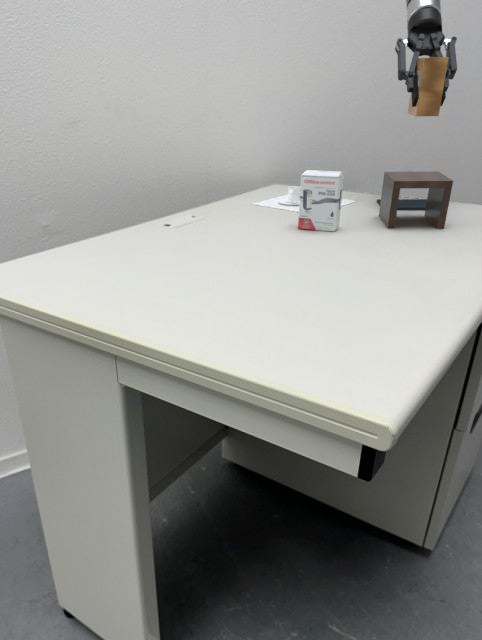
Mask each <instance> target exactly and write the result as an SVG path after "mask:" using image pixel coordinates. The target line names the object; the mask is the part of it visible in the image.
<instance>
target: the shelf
mask: <svg viewBox="0 0 482 640" xmlns="http://www.w3.org/2000/svg"><path fill="white" fill-rule="evenodd" d="M453 185H454V180H453V179H451V178H449V177H448V176H447V175H445V174H443V173H442V172H440V171H384V173H383V181H382V187H381V194H380V195H381V196H380V199H381V202H380V205H379V211H378V217H379V218H380V220H381V221H382V222H383V224H384V226H385V227H386V229H395V227H396V220H397V214H398V210H397V208H398V201H399V199H400V194H401V189H428V192H427V198H426V199H427V203H426V209H425V210H424V217H425V218H426V219H427V220H428V221H429V222H430V224H432V225H433V226H434V227H435V228H436V229H438V230H441V229H445V226H446V221H447V215H448V210H449V205H450V202H451V201H450V200H451V195H452V190H453Z"/></svg>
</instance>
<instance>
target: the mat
mask: <svg viewBox="0 0 482 640" xmlns="http://www.w3.org/2000/svg"><path fill="white" fill-rule="evenodd" d="M380 202H381V198H379V199H376V203H377V204H378V205H379V206H380ZM426 203H427V198H425V199H424V198H422V199H421V198H420V199H419V198H418V199H417V198H416V199H415V198H411V199H410V198H409V199H408V198H407V199H406V198H399V201H398V208H397V211H425V209H426Z"/></svg>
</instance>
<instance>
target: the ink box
mask: <svg viewBox="0 0 482 640" xmlns="http://www.w3.org/2000/svg"><path fill="white" fill-rule="evenodd" d="M344 180H345V172H343V171H335V170H319V169H317V170H316V169H307V170H305V171H302V173H301V175H300V185H299V187H300V201H299V212H298V219H297V220H298V221H297V229H299V230H311V231H323V232H336V231H337V230H338V229H339V227H340V220H341V208H342V206H341V201H342V199H343V190H344V189H343V188H344Z"/></svg>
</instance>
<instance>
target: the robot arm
mask: <svg viewBox="0 0 482 640" xmlns="http://www.w3.org/2000/svg"><path fill="white" fill-rule="evenodd" d="M405 3H406V25H407V27H406V28H407V38H405V39H403V38H401V37H399V38H397V40H396V43H395V47H394V50H395V53H396V55H397V80H398V81H405V82H404V85H406V92H407V93H410V94H412V107H416V104H417V101H418V99H419V92H418V74H414V71H415V68H416V64H417V58H420V57H423V56H427V57H428V58H432V57H444V55H443V53H442V50H441V48H442V46H444V51H445V57H449V58H448V64H447V70H446V76H445V82H444V88H443V93H442V99H441V105H440V107H443V105H444V102H445V100H446V98H447V96H446V94H447V92H448V89H449V87H450V80H453V79H454V78H455V76H456V73H457V71H458V62H457V52H456V43H457V40H458V37H457V36H452V37H451V38H447V37H446V36H445V34H444V33H443V21H442V20H443V19H442V5H441V0H405ZM407 48H408V49H409V50H410V51H411V52H412V53H413V54H412V59H411V62H410V65H409V69H408V70H407V60H406V59H407V55H406V54H407V53H406V51H407V50H406V49H407Z"/></svg>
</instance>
